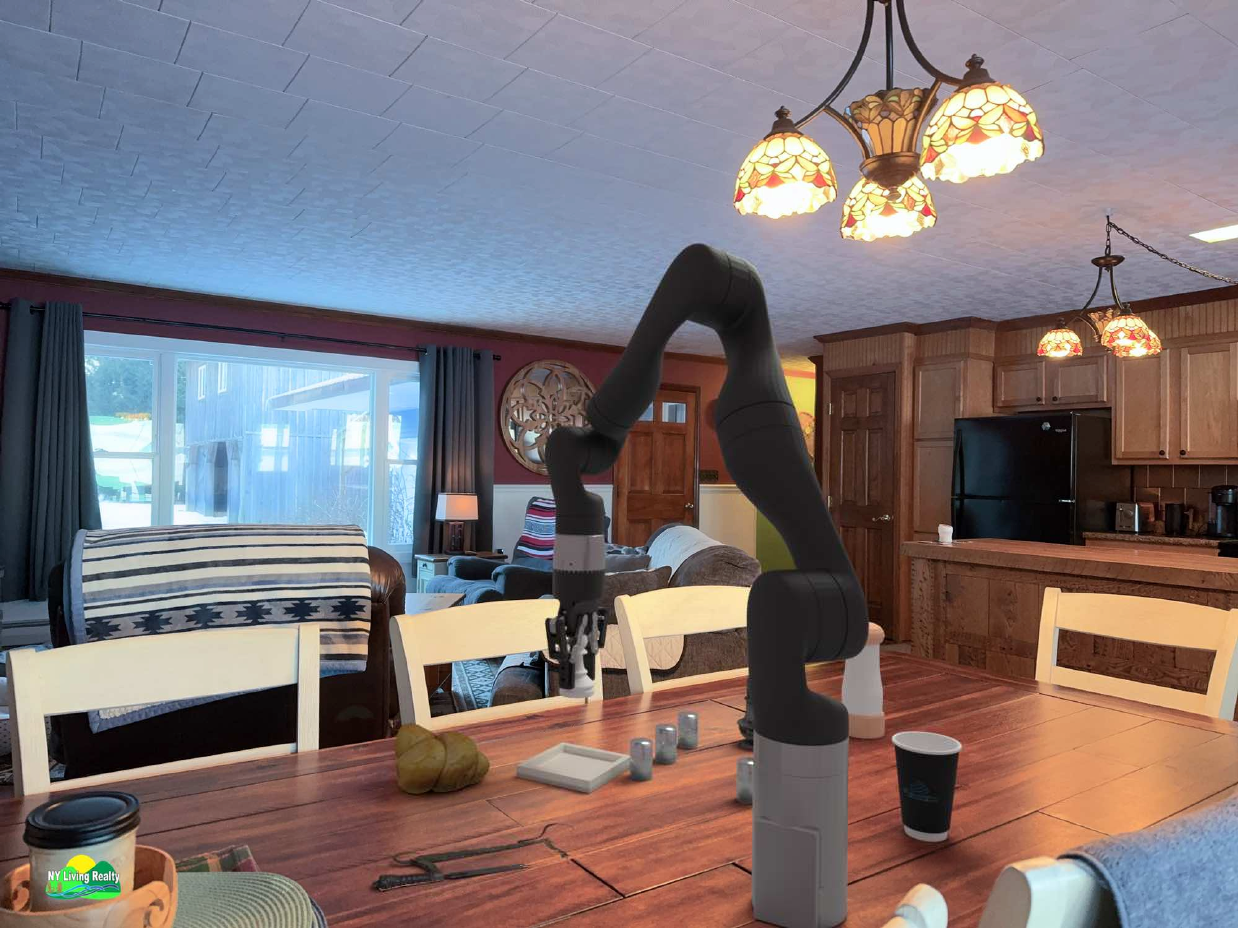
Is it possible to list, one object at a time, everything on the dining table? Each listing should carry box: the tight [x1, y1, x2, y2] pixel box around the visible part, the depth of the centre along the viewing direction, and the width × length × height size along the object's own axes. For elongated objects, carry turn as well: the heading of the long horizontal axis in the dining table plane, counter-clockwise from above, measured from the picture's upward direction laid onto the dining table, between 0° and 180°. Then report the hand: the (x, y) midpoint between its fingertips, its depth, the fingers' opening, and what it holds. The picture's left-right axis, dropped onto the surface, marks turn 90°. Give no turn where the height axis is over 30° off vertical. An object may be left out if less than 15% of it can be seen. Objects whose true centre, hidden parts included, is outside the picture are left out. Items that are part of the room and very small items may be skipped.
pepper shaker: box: [841, 621, 886, 740], centre depth 141 cm, size 7×7×19 cm
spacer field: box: [629, 710, 753, 805], centre depth 122 cm, size 19×19×5 cm
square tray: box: [515, 742, 630, 794], centre depth 120 cm, size 12×12×2 cm
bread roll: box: [394, 722, 490, 795], centre depth 114 cm, size 13×10×8 cm
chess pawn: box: [558, 635, 595, 699], centre depth 120 cm, size 5×5×9 cm
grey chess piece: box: [736, 676, 754, 751], centre depth 134 cm, size 6×6×12 cm
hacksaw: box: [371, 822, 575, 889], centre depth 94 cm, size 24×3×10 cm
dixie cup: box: [891, 731, 963, 843], centre depth 101 cm, size 8×8×11 cm
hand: (577, 683), depth 120 cm, fingers closed on chess pawn, 5 cm apart
